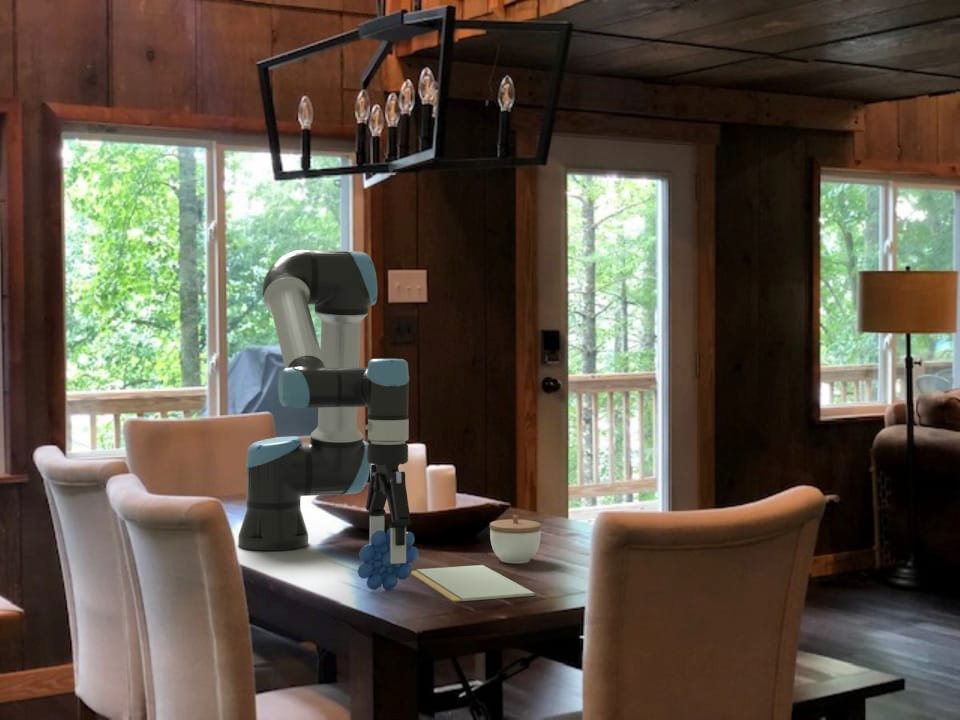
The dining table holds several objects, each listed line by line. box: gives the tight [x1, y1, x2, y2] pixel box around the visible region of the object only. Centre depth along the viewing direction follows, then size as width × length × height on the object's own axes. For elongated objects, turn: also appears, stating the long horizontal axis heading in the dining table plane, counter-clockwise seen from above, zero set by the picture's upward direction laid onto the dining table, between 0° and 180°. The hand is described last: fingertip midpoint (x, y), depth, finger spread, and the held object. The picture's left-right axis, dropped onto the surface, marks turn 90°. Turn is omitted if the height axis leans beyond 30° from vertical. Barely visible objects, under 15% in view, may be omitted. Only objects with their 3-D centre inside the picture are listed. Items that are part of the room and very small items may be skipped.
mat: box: [416, 564, 535, 602], centre depth 238 cm, size 26×14×1 cm, turn 21°
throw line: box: [410, 570, 462, 603], centre depth 235 cm, size 26×2×1 cm, turn 21°
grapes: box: [357, 528, 419, 591], centre depth 232 cm, size 12×7×12 cm, turn 112°
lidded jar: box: [489, 514, 542, 564], centre depth 260 cm, size 11×11×9 cm
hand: (387, 556), depth 232 cm, fingers open, 13 cm apart
